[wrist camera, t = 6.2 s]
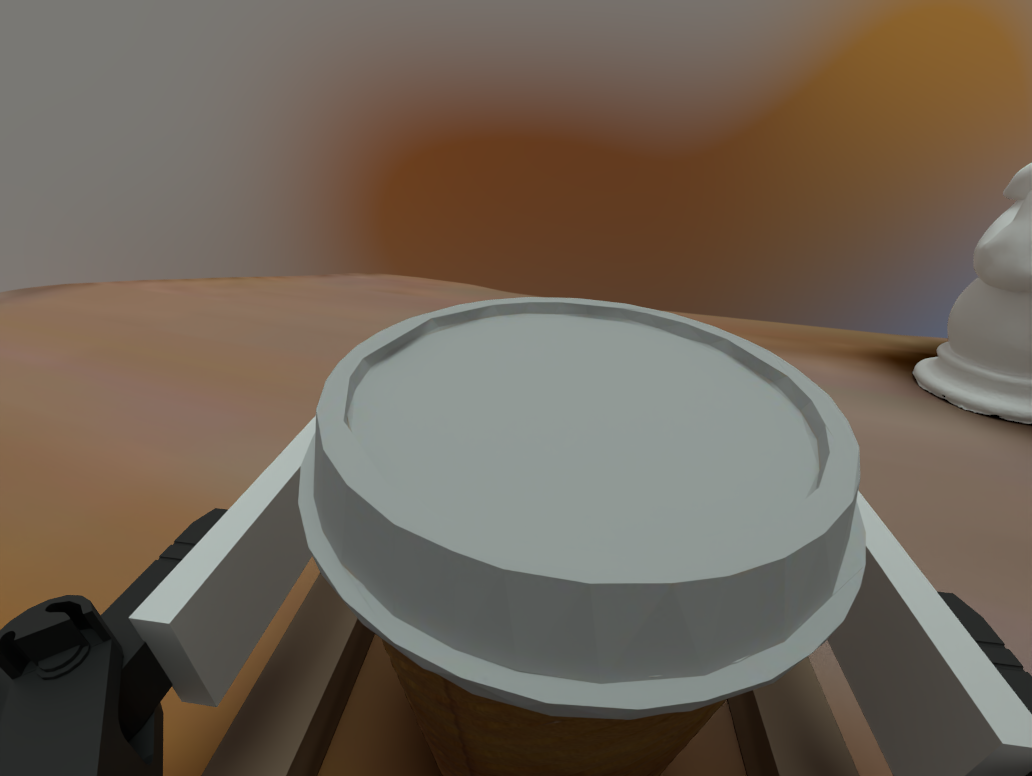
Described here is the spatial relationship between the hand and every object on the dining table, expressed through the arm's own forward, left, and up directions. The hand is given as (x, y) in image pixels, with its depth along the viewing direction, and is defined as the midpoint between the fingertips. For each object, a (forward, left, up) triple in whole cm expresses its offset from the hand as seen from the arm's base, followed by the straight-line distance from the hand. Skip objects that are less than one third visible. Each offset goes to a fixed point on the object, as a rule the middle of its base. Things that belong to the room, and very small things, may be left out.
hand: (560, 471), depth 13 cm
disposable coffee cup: (0, +3, -7) cm, 8 cm away
